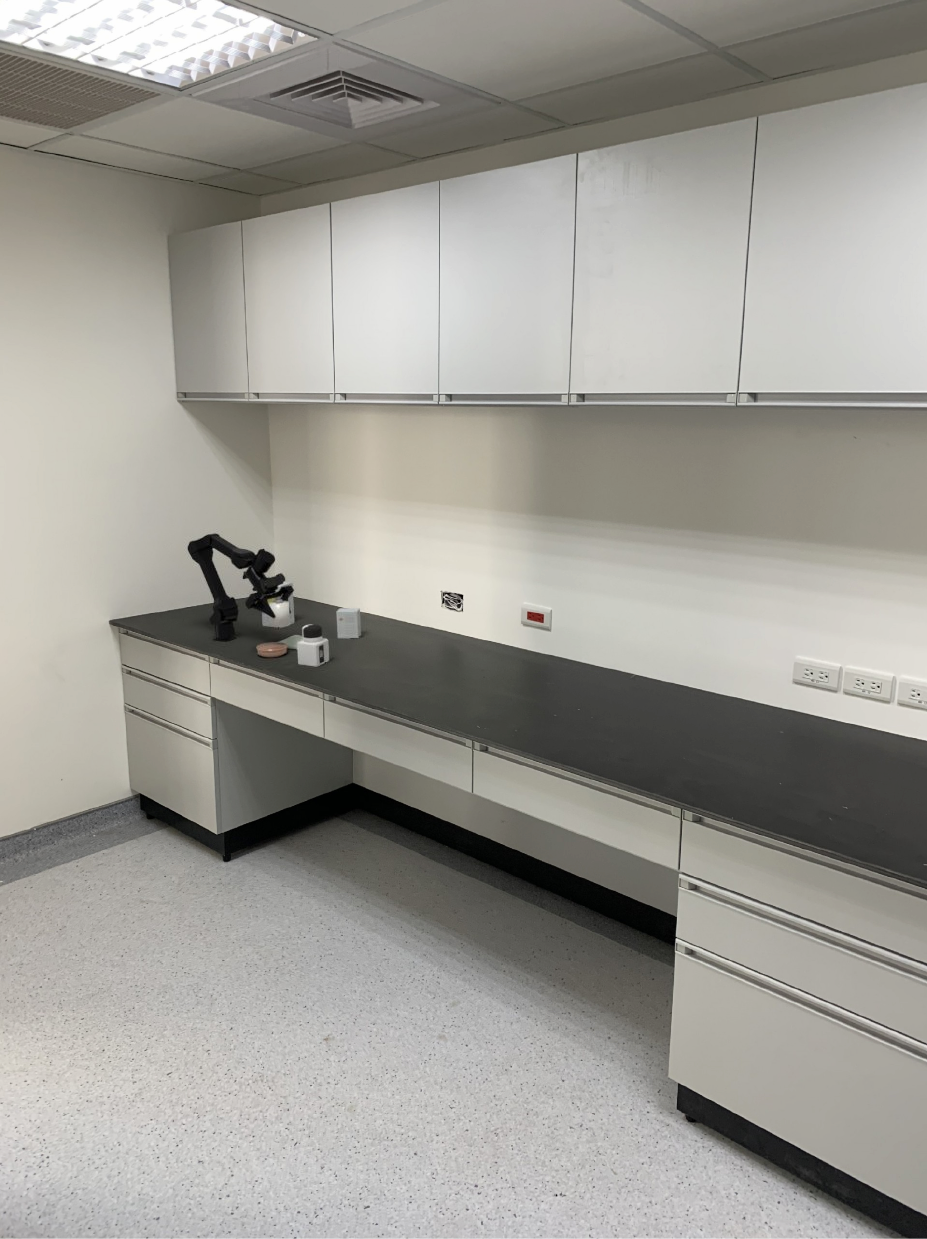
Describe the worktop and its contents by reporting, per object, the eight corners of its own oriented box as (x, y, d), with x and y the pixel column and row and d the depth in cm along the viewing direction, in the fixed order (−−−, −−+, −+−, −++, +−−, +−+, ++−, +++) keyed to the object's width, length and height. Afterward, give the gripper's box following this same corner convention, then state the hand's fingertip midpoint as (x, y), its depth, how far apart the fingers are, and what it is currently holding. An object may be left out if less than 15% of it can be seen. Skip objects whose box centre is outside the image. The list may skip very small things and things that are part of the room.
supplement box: (261, 626, 349) (259, 584, 345) (275, 620, 358) (272, 580, 354) (282, 628, 346) (280, 586, 342) (295, 622, 354) (293, 581, 350)
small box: (361, 635, 335) (360, 608, 332) (358, 638, 330) (357, 611, 327) (340, 634, 336) (339, 607, 333) (337, 638, 330) (336, 611, 328)
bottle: (266, 626, 309) (265, 601, 306) (275, 621, 315) (274, 597, 313) (284, 627, 307) (283, 602, 305) (293, 623, 313) (292, 598, 311)
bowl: (250, 656, 307) (250, 648, 307) (268, 649, 317) (268, 641, 316) (276, 660, 303) (275, 651, 302) (293, 652, 313) (293, 644, 312)
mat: (273, 646, 320) (273, 644, 320) (294, 636, 333) (294, 634, 333) (305, 650, 315) (305, 648, 315) (326, 640, 327) (326, 638, 327)
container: (329, 661, 302) (328, 624, 299) (316, 667, 295) (315, 629, 292) (310, 658, 305) (308, 622, 302) (297, 664, 298) (295, 627, 295)
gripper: (248, 571, 301) (272, 606, 297) (289, 563, 316) (312, 597, 312) (234, 590, 307) (258, 626, 304) (275, 582, 322) (298, 615, 318)
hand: (282, 615), depth 309 cm, fingers closed on bottle, 7 cm apart
